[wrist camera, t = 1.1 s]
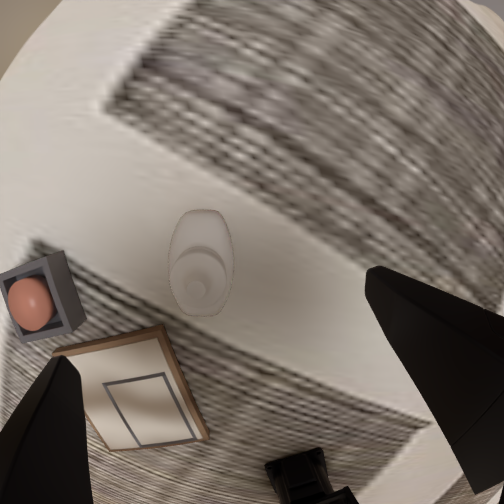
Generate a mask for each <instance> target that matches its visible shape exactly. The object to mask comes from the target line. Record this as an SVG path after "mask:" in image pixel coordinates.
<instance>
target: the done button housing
mask: <svg viewBox="0 0 504 504" xmlns="http://www.w3.org/2000/svg"><path fill="white" fill-rule="evenodd" d="M31 275H39V276H41V277H43V278H45V279H46V280H47V282H48V285H49V288H50V291H51V294H52V297H53V299H54V302H55V305H56V308H57V312H56V315H55V316H54V318H53V319H52V320H50V321H49V322H48V323H46V324H45V325H44V326H43V327H41V328H40V329H38V330H36V331H30V330H26V329H24V328H23V327H21V326H20V325H19V324H18V323H17V322H16V321H15V319H14V318H13V316H12V314H11V312H10V309H9V305H8V293H9V290H10V288H11V286H12V285H13V284H14V283H15V282H17V281H19V280H21V279H24V278H26V277H28V276H31ZM0 288H1V292H2V295H3V297H4V300H5V303H6V306H7V309H8V311H9V314H10V317H11V319H12V322H13V324H14V327H15V329H16V332H17V334H18V336H19V339H20V341H21V343H26V342H31V341H36V340H40V339H45V338H49V337H54V336H58V335H63V334H67V333H72V332H74V331H75V330H76V329H77V328H78V327H79V326H80V325H81V324H82V323H83V322H84V321H85V320H86V316H85V313H84V311H83V308H82V306H81V303H80V300H79V297H78V295H77V292H76V289H75V286H74V283H73V280H72V277H71V274H70V271H69V268H68V264H67V261H66V258H65V254H64V251H60V252H57V253H54V254H51V255H48V256H45V257H42V258H40V259H37V260H34V261H32V262H29V263H27V264H24V265H21V266H19V267H16V268H14V269H11V270H9V271H6V272H4V273H1V274H0Z"/></svg>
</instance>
